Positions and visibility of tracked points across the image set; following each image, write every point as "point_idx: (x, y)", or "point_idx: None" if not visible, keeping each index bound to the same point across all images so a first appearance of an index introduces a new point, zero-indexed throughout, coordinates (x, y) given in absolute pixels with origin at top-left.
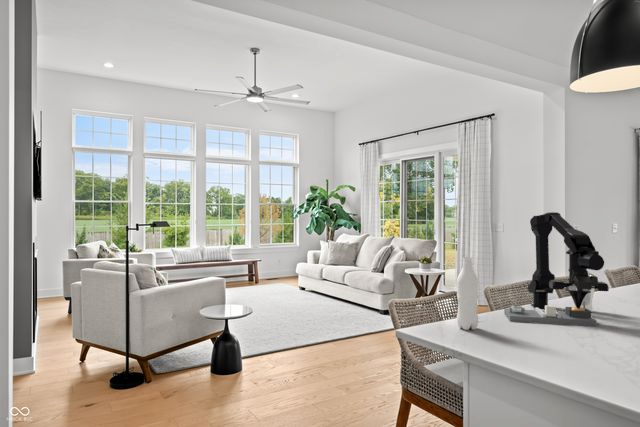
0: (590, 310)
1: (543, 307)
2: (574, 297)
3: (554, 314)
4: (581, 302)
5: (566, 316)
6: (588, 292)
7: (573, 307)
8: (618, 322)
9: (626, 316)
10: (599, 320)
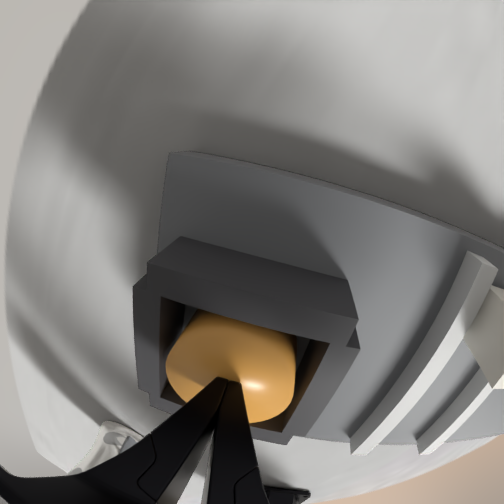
0: (109, 427)
1: (277, 490)
2: (264, 500)
3: (500, 294)
4: (178, 417)
5: (371, 317)
6: (5, 478)
7: (254, 413)
8: (42, 259)
9: (21, 343)
10: (106, 310)
